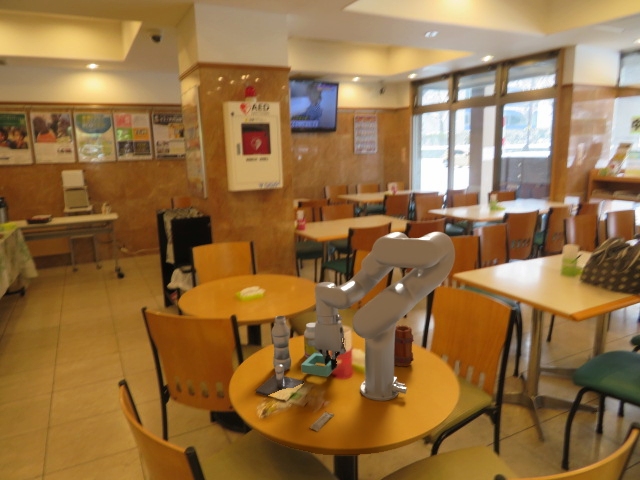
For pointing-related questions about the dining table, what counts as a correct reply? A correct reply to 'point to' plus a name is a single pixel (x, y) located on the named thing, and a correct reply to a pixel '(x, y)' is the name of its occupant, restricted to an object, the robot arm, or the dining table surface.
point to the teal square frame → (316, 366)
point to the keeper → (278, 382)
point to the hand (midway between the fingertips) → (331, 367)
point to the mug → (403, 346)
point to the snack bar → (321, 421)
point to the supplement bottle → (310, 340)
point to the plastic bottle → (281, 343)
